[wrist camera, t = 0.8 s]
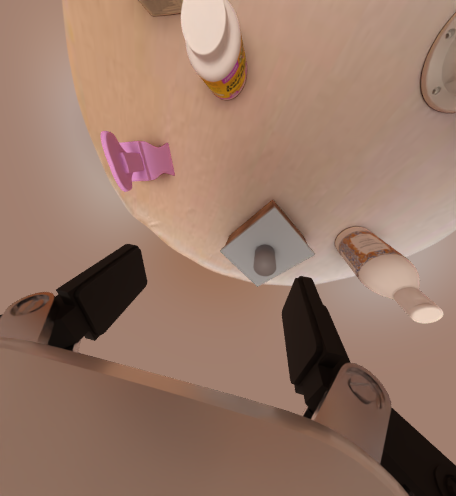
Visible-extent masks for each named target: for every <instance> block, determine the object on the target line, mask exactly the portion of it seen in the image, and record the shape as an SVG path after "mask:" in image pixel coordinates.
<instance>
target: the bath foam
mask: <svg viewBox="0 0 456 496" xmlns="http://www.w3.org/2000/svg"><path fill="white" fill-rule="evenodd" d="M335 246H336V249H337V250H338V252H339V253H340V254H341V256H342V257H343V258H344V260H345V261H346V262H347V264H348V265H349V266H350V268H351V269H352V270H353V272H354V273H355V274H356V276H357V277H358V278H359V280H360V281H361V282H362V283H363V284H364V285H365V286H366V287H367V288H368V289H370V290H371V291H373V292H375V293H377V294H379V295H381V296H384V297H387V298H390V299H394V300H395V301H396V302H397V303H398V304H399V305H400V306H401V307H402V309H403V310H404V311H405V312H406V313H407V314H408V315H409V316H410V318H411V319H412V320H414V321H415V322H418V323H431V322H435V321H437V320H439V319H440V318H441V317H442V316H443V311H442V310H441V309H440V308H439V307H438V306H437V305H436V304H435V303H434V302H433V301H431V300H430V299H429V298H428V297H427V296H426V295H425V294H423V293H422V292H421V291H420V290H419V286H420V280H419V275H418V272H417V270H416V268H415V267H414V265H413V264H412V263H411V262H410V261H409V260H408V259H407V258H406V257H404V256H403V255H402V254H400V253H399V252H398V251H396V250H395V249H393V248H392V247H391V246H389V245H388V244H387V243H385V242H384V241H383V240H381V239H380V238H379V237H377V236H376V235H375V234H373V233H372V232H370V231H369V230H367V229H366V228H363V227H351V228H348V229H346V230H344V231H342V232H341V233H340V234H339V235H338V236H337V238H336V241H335Z"/></svg>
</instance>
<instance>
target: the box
mask: <svg viewBox="0 0 456 496" xmlns="http://www.w3.org/2000/svg"><path fill="white" fill-rule="evenodd" d="M274 206H275V207H276V208H277V209H278V210H279V212H280V213H281V214H282V215H283V216H284V218H285V219H286V220H287V221H288V222H289V223H290V225H291V226H292V227H293V228H294V229H295V230H296V232H297V233H298V234H299V235H300V236H301V237H302V239H303V240H304V241H305V242H306V240H305V238H304V236H303V235H302V234H301V233H300V231H299V230H298V229H297V228H296V227H295V226H294V224H293V223H292V222H291V221H290V220H289V218H288V217H287V216H286V215H285V214H284V213H283V211H282V210H281V209H280V208H279V207H278V205H277V204H276V203H275V202H274V201H273V200H272V201H270V202H269V203H268V204H267V205H266V206H264V207H263V208H262V209H261V210H260V211H258V212H257V213H256V214H255V215H254V216H253V217H251V218H250V219H249V220H248V221H247V222H245V223H244V224H243V225H242V226H241V227H239V228H238V229H237V230H236V231H235V232H233V233H232V234H231V235H230V236H229V238H228V240H227V243H226V245H227V244H228V243H229V242H230V241H232V240H233V239H234V238H235V237H237V236H238V235H239V234H240V233H242V232H243V231H244V230H245V229H247V228H248V227H249V226H250V225H252V224H253V223H254V222H255V221H256V220H258V219H259V218H260V217H261V216H263V215H264V214H265V213H266V212H268V211H269V210H270V209H271V208H273V207H274ZM306 243H307V242H306ZM226 245H225V246H226Z"/></svg>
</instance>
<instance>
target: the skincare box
mask: <svg viewBox="0 0 456 496" xmlns="http://www.w3.org/2000/svg"><path fill="white" fill-rule="evenodd" d="M138 1H139V2H140V3H141V4H142V5H143V6H144V8H145V9H146V10H147V11H148V12H149V13H150V14H151V16H161V15H170V14H177V13H181V9H182V4H183V0H138Z"/></svg>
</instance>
